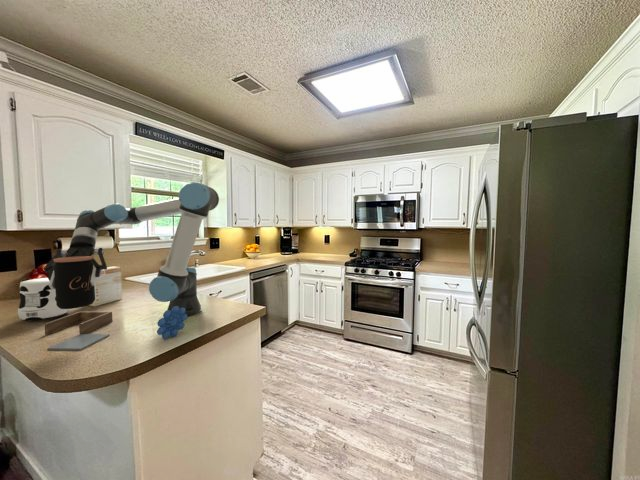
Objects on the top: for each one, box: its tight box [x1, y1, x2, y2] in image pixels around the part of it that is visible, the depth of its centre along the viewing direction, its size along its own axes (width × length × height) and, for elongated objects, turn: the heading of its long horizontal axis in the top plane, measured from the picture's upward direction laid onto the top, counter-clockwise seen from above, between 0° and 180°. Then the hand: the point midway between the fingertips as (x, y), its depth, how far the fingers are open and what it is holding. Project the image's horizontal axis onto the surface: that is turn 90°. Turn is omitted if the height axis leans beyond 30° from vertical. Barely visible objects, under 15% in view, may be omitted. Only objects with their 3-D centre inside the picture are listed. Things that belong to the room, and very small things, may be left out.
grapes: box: [156, 306, 188, 340], centre depth 102 cm, size 12×7×12 cm, turn 147°
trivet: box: [47, 333, 110, 351], centre depth 97 cm, size 12×12×1 cm
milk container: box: [17, 277, 71, 322], centre depth 123 cm, size 17×17×18 cm
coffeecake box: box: [88, 265, 123, 307], centre depth 148 cm, size 15×7×20 cm, turn 163°
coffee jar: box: [53, 255, 95, 310], centre depth 97 cm, size 11×11×18 cm
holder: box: [44, 310, 113, 336], centre depth 111 cm, size 15×15×4 cm
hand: (72, 285), depth 95 cm, fingers closed on coffee jar, 11 cm apart
